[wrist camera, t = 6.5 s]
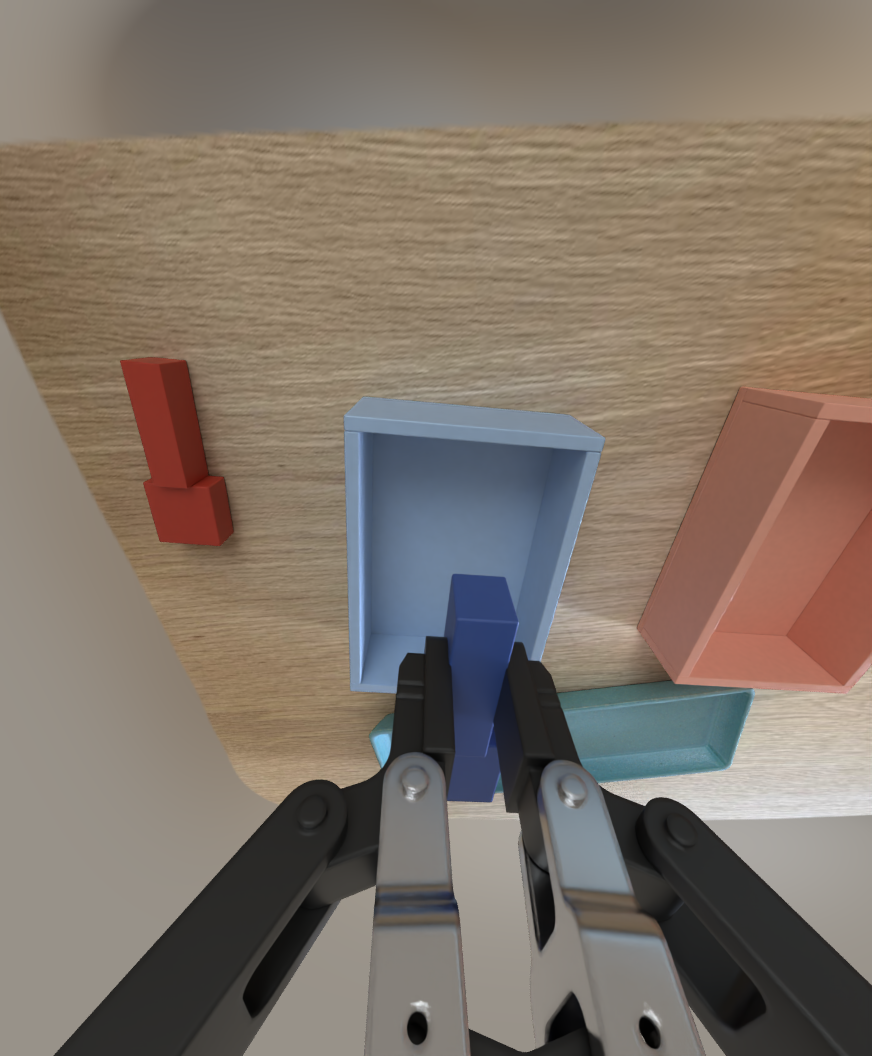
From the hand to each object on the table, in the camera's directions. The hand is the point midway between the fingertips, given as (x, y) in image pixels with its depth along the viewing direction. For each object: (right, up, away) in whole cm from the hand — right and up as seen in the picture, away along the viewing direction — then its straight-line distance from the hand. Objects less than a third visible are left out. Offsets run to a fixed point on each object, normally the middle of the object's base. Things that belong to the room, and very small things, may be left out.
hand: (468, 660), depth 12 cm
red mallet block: (-14, +8, +8) cm, 18 cm away
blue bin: (0, +3, +10) cm, 11 cm away
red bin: (+18, +4, +10) cm, 21 cm away
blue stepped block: (0, -1, +1) cm, 2 cm away
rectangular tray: (+8, -11, +18) cm, 23 cm away
